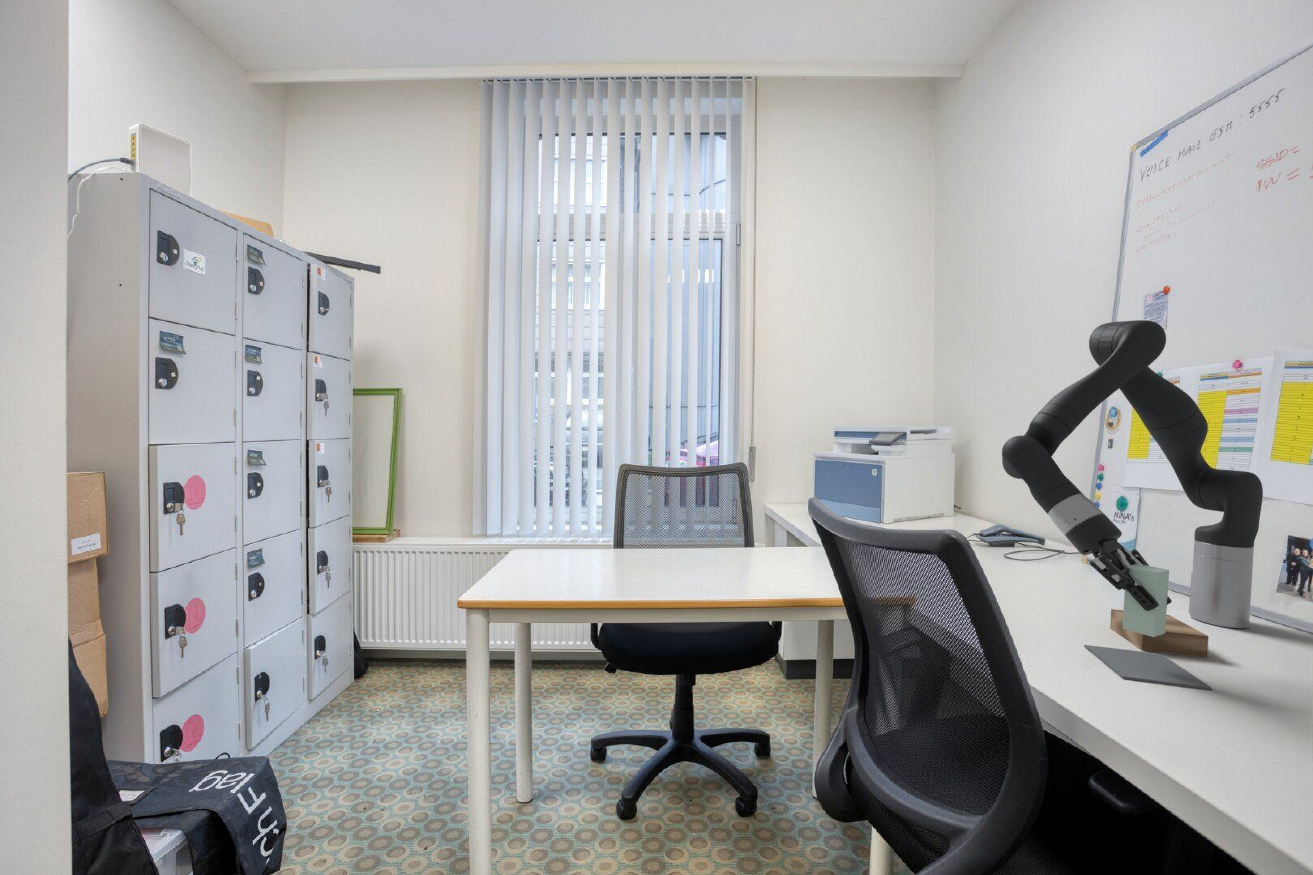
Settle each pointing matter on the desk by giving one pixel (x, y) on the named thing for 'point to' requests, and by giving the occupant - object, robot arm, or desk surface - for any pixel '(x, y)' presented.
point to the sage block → (1158, 589)
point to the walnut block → (1165, 637)
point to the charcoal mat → (1146, 667)
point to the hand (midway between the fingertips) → (1159, 606)
